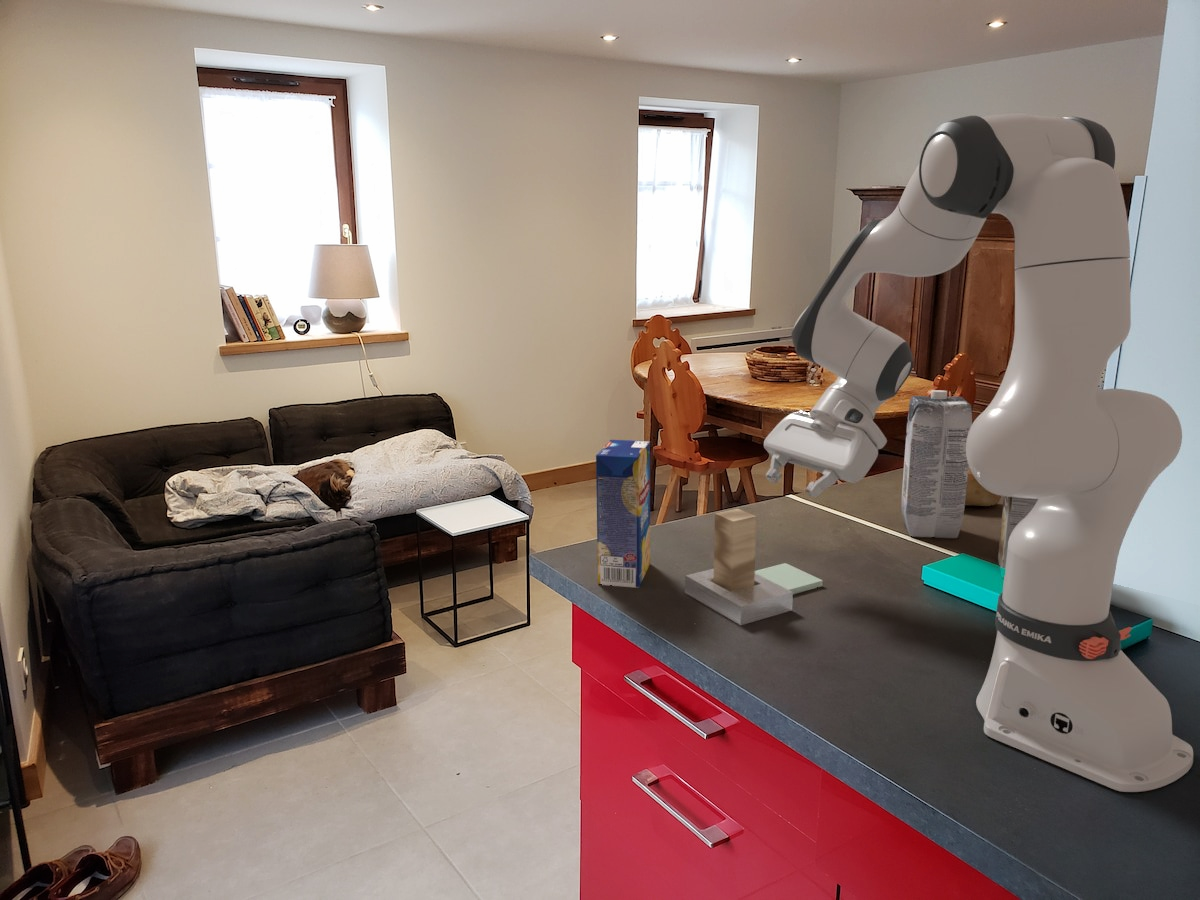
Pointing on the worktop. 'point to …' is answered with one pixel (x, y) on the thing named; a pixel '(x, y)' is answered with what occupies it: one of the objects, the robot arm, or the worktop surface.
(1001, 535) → the coffee box
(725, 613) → the grey square socket plate
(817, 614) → the worktop surface
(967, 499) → the bread roll
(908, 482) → the juice carton
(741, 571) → the oak peg
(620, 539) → the beverage box
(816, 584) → the pad
